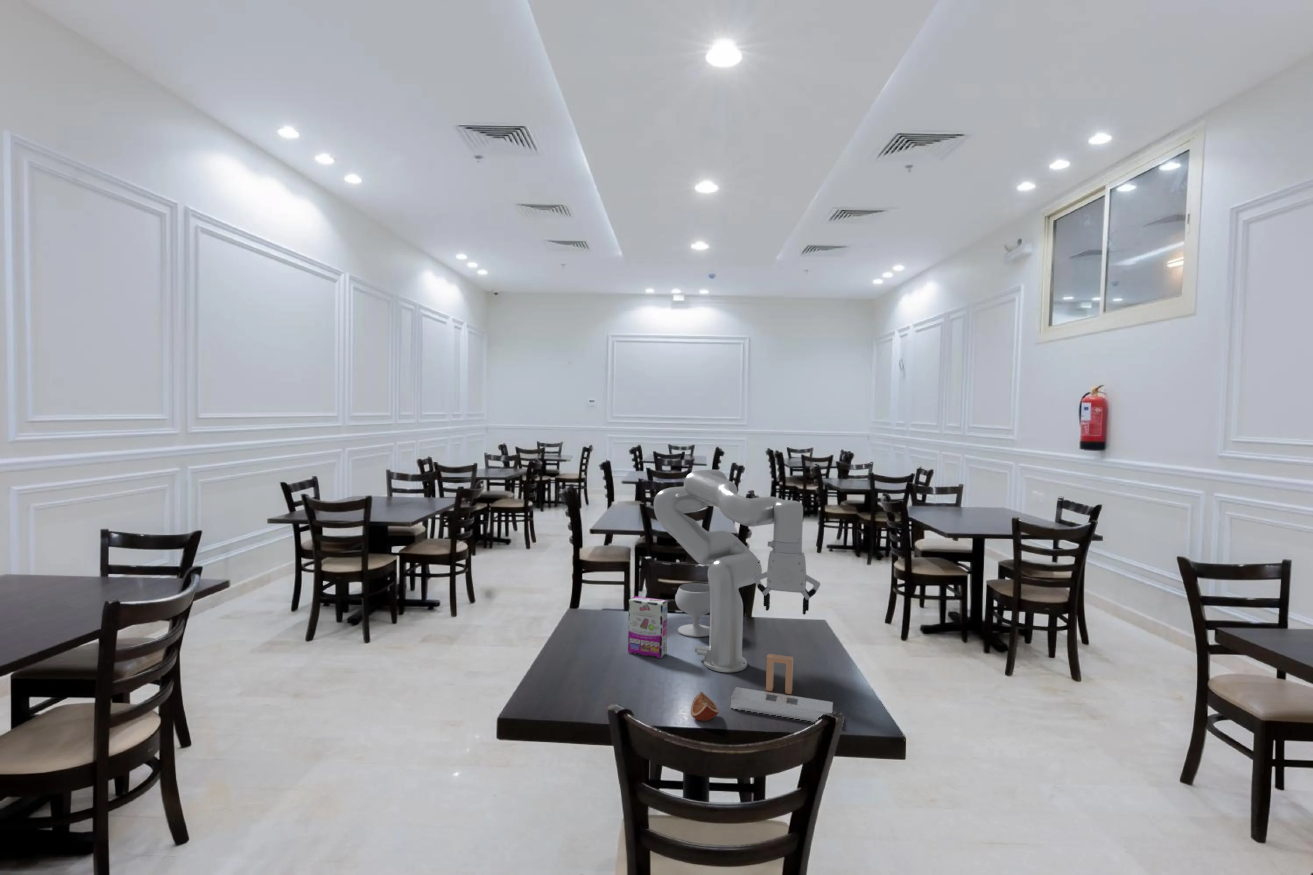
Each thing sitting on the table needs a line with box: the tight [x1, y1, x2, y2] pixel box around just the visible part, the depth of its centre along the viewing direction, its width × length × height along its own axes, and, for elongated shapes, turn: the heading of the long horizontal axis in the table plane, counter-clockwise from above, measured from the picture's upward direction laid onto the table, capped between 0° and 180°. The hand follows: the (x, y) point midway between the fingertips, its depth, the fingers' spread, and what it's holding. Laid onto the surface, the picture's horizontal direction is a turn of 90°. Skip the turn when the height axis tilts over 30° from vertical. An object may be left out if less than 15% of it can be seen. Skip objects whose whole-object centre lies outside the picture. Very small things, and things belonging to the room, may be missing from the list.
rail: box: [730, 686, 834, 724], centre depth 153 cm, size 24×6×3 cm, turn 72°
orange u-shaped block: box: [765, 653, 794, 695], centre depth 165 cm, size 7×2×9 cm, turn 72°
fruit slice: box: [690, 691, 720, 722], centre depth 149 cm, size 8×7×5 cm
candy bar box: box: [627, 595, 669, 659], centre depth 189 cm, size 11×5×16 cm, turn 68°
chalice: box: [675, 582, 710, 638], centre depth 209 cm, size 14×14×15 cm
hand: (785, 611), depth 166 cm, fingers open, 9 cm apart
